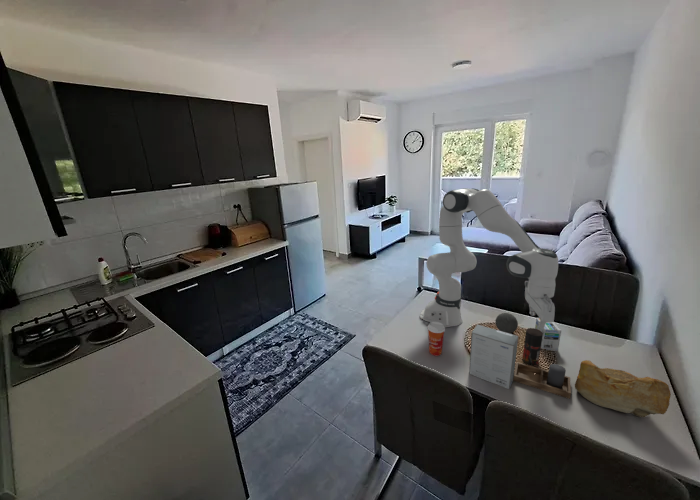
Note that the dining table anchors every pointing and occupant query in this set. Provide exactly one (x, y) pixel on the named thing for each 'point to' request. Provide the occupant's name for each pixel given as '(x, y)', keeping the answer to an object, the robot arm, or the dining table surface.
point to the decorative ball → (506, 322)
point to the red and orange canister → (435, 338)
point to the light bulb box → (549, 335)
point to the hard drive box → (493, 355)
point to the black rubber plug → (556, 376)
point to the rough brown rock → (622, 390)
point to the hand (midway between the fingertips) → (536, 320)
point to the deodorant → (532, 346)
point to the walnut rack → (540, 380)
